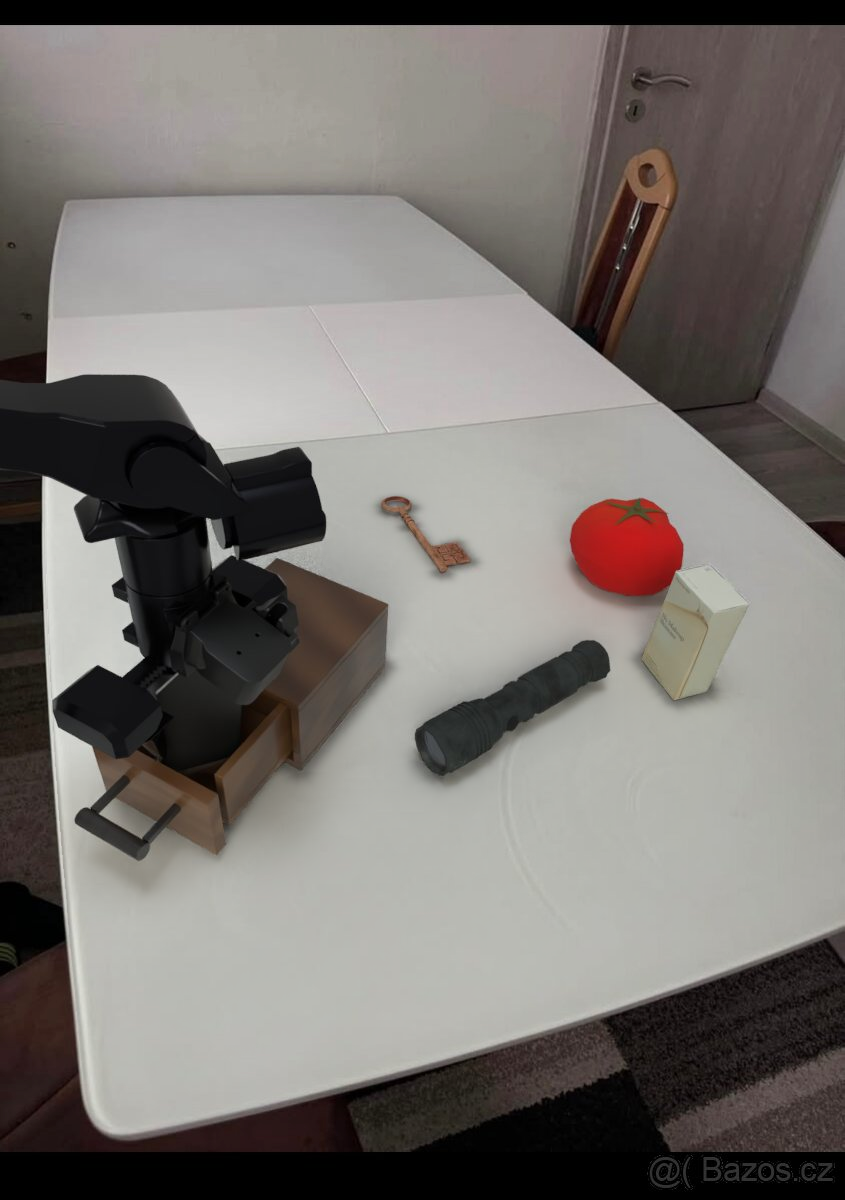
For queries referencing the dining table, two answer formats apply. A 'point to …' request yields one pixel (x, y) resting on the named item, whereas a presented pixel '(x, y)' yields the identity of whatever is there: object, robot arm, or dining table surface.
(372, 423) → the dining table surface
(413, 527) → the key
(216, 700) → the battery charger
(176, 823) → the drawer
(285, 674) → the cabinet
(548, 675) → the flashlight
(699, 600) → the cosmetic box
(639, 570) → the tomato
